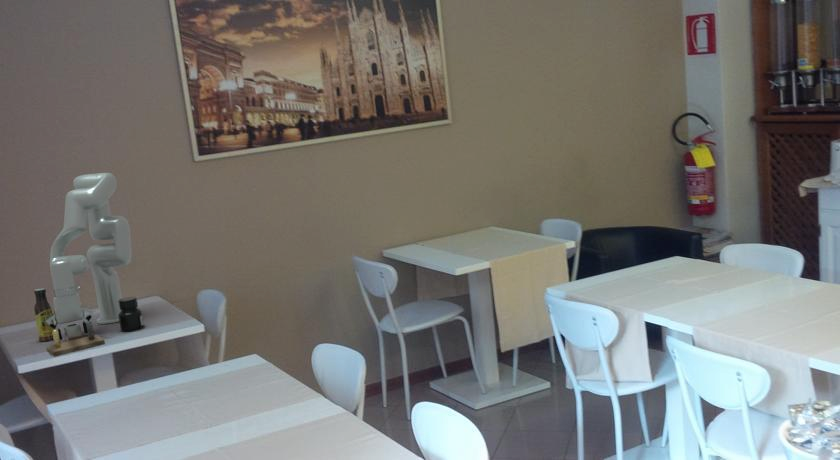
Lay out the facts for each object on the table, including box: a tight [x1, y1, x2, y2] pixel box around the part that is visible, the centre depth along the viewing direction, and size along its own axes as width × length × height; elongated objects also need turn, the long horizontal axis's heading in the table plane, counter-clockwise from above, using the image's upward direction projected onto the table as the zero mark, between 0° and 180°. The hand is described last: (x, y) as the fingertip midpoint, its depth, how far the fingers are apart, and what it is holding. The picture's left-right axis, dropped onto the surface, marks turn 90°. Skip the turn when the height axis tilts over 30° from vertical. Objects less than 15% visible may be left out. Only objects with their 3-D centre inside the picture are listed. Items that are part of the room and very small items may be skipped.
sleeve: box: [62, 322, 83, 342], centre depth 343 cm, size 5×5×6 cm
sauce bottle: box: [33, 287, 55, 342], centre depth 349 cm, size 6×6×20 cm
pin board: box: [45, 320, 106, 357], centre depth 333 cm, size 18×12×8 cm, turn 123°
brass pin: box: [52, 329, 62, 348], centre depth 330 cm, size 2×2×8 cm
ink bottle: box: [118, 296, 145, 333], centre depth 351 cm, size 10×9×12 cm
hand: (73, 336), depth 343 cm, fingers open, 9 cm apart
